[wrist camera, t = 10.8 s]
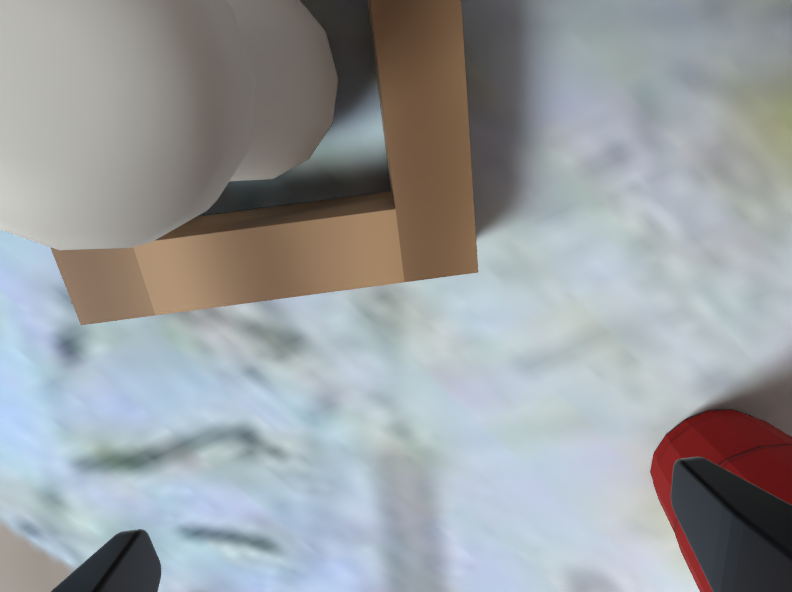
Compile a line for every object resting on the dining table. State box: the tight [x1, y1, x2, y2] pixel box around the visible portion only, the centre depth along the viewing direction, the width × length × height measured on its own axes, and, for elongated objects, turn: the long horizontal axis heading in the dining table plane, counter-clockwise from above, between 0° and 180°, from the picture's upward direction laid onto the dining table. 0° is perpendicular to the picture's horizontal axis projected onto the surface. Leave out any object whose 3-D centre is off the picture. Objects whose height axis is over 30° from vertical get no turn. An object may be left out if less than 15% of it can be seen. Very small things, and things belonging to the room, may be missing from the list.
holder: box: [51, 0, 478, 325], centre depth 16 cm, size 13×13×3 cm
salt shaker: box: [0, 0, 338, 250], centre depth 12 cm, size 6×6×13 cm
